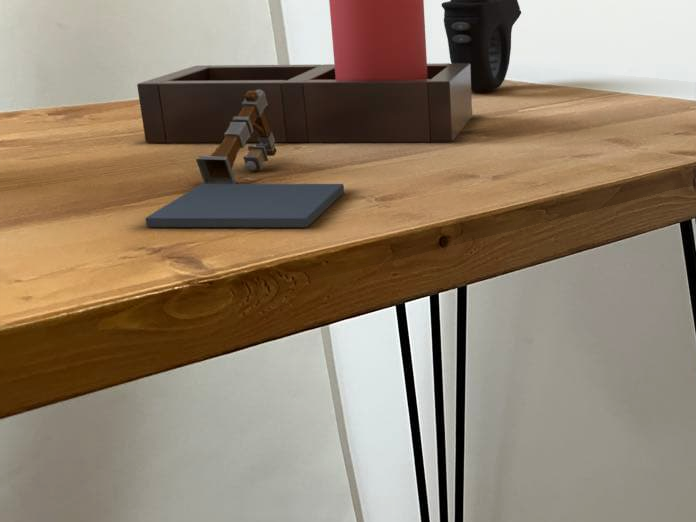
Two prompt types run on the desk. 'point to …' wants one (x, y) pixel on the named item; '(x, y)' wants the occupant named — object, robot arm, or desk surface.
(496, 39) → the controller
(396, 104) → the divided wooden tray
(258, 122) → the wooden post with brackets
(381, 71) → the beer can
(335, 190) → the coaster
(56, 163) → the desk surface
